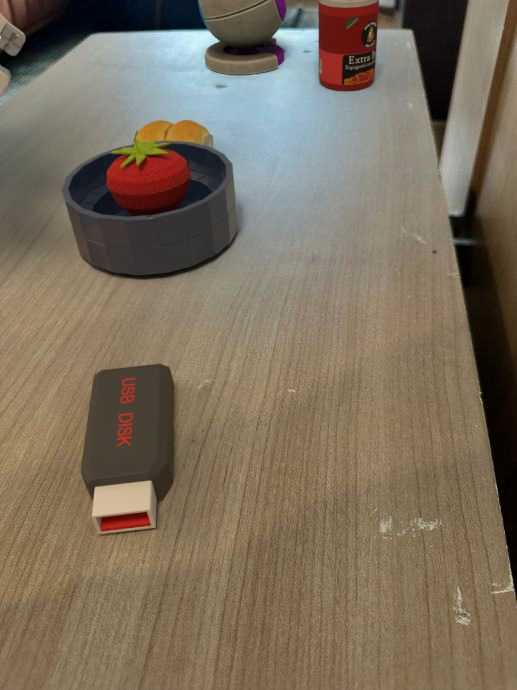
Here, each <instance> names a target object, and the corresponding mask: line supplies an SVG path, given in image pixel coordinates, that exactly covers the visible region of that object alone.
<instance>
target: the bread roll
mask: <svg viewBox="0 0 517 690" xmlns="http://www.w3.org/2000/svg"><path fill="white" fill-rule="evenodd" d="M137 131H138V132H137V135H136V138H135V139H137V140H139V141H141V142H142V143H143V142H149V141H152V140H155V139H156V140H155V141H182V142H192V143H196V144H201V145H205V146H209V147H211V148H213V149H214V136H213V134H211V133H210V131H209V129H207V128H206V127H205V126H204V125H202V124H201V123H198V122H196V121H194V120H190V119H182V120H179V121H178V122H175V123H173V122H171V121H167V120H162V119H159V120H154V121H151V122H149V123H147V124H145V125H144V126H142V127H141V128H139V130H137ZM134 143H135V142H134V139H133V140H132V144H134Z"/></svg>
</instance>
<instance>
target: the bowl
mask: <svg viewBox="0 0 517 690" xmlns="http://www.w3.org/2000/svg"><path fill="white" fill-rule="evenodd" d="M170 142H171V144H170V145H167V146H165V147H162V148H160V149H167V150H172V151H174V152H176V153H177V154H179V155H180V156H182V157H183V158H185V160H186V161H187V164H188V167H189V169H190V173H191V175H190V180H189V186H188V191H187V193H186V195H185V197H184V198H183V200H182V202H181V203H180V205H179V207H178V208H177V210H173V211H169V212H165V213H160V214H156V215H144V216H131V215H130V214H129V213H128V212H127V211H126V210H124V209H123V208H122V207H121V206H120V205H118V204H117V203H116V201H115V199H114V197H113V196H112V194H111V192H110V191H109V189H108V187H107V170H108V169H109V167H110V166H111V165H112V163H113V162H114V161H115V160H116V159H117V158H119V157H121V156H123V155H125V154H112V153H111V152H112V151H117V150H121V149H123V148H129V147H134V144H133V143H132V144H128V145H123V146H118V147H116V148H113V149H110V150H108V151H105V152H101V153H99V154H95V155H94V156H93V157H90V158H89V159H87V160H86V161H83V162H82V163H80V164H79V165H77V166H76V167H75V168H74V169H73V170H72V171H71V172H70V173H69V174H68V175H67V176H66V177H65V179H64V182H63V184H62V187H61V193H62V196H63V197H62V198H63V201H64V202H65V203H64V204H65V208H66V210H67V214H68V218H69V221H70V224H71V228H72V232H73V235H74V239H75V242H76V245H77V248H78V251H79V255H80V256H82V257H83V258H84V259H85V260H86V261H87V262H88V263H90V264H91V265H92V266H94V267H98V268H101V269H103V270H106V271H108V272H111V273H117V274H126V275H133V276H145V275H159V274H168V273H171V272H175V271H178V270H183V269H187V268H190V267H194V266H195V265H198V264H200V263H202V262H204V261H206V260H208V259H210V258H212V257H214V256H217V254H219V253H220V252H221V251H223V249H224V248H226V247H227V246H228V245H229V244H230V243H231V242H232V240H233V238H234V237H235V235H236V233H237V231H238V230H239V224H238V222H239V221H238V209H237V199H236V198H237V197H236V186H235V176H234V164H233V163H232V162H231V160H230V159H229V158H228V157H227V155H225V153H223V152H221V151H220V150H217V149H215V148H214V147H213V148H211V147H209V146H205V145H201V144H196V143H192V142H182V141H155V144H162V143H170ZM143 143H146V142H143Z"/></svg>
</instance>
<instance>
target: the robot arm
mask: <svg viewBox="0 0 517 690" xmlns="http://www.w3.org/2000/svg"><path fill="white" fill-rule="evenodd" d="M25 43H26V35H25V33H24V32H23V31H22V30H21V29H19V28H18V27H17V26H15V25H13V24H12V23H11V22H9V20H8V19H7V18H6V17H5V16H4V15H3V14H2V13H1V12H0V49H1V50H2V51H4V52H6V54H8V55H9V56H12V57H16V56H17V55H19V52H21V49H22V48H23V46H24V44H25ZM11 79H12V74H11V72H10V70H9V69H8V68H6V67H4V66H2V65H1V64H0V97H2V96H3V94H4V92H5V91H6V90H7V88H8V86H9V84H10V83H11V82H10V81H11Z"/></svg>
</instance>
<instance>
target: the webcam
mask: <svg viewBox="0 0 517 690" xmlns="http://www.w3.org/2000/svg"><path fill="white" fill-rule="evenodd" d="M197 4H198V10H199V14H200V18H201V19H202V22H203V24H204V25H205V27H206V29H207V30H208V32H209V33H210V34H211V36H213V37H214V38H215V39H216V40H217V42H215V43H213V44H211V45H210V46H209V47H208V48H206V50H205V53H204V62H205V66H206V68H208V69H209V70H211V71H212V72H216V73H220V74H226V75H255V74H260V73H261V74H262V73H266V72H270V71H274V70H276V69H278V68H279V67H278V66H279V65H281V64H282V63H284V61H285V49H284V48H283V46H280V45H279V44H278V42H277V38H276V37H274V36H275V34H276V33H277V32H278V31H279V29H280V28H281V26H282V25H283V23H284V21H285V18H286V15H287V10H288V8H287V3H286V0H197Z"/></svg>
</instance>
